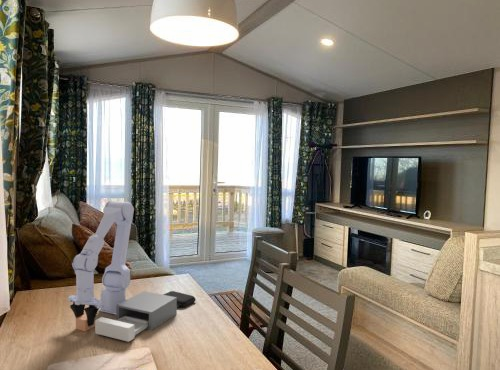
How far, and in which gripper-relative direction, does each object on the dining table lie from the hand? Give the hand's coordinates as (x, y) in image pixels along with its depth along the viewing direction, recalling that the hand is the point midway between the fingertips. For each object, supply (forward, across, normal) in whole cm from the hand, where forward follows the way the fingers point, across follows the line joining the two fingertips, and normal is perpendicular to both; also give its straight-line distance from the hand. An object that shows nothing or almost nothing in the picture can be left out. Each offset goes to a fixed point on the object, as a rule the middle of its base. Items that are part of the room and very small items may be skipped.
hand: (85, 323), depth 137 cm
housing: (+1, +15, +16) cm, 22 cm away
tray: (+1, +15, +3) cm, 15 cm away
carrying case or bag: (+2, +16, +34) cm, 38 cm away
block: (+1, 0, 0) cm, 1 cm away
